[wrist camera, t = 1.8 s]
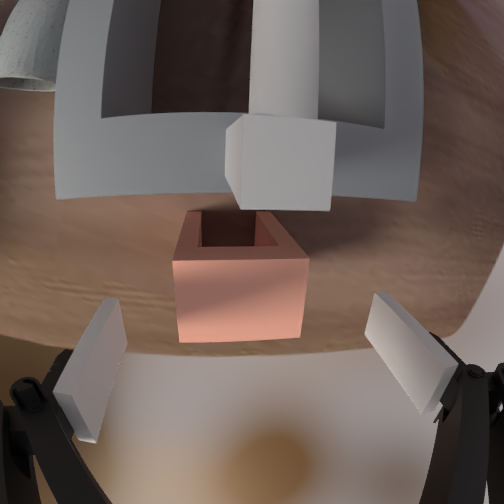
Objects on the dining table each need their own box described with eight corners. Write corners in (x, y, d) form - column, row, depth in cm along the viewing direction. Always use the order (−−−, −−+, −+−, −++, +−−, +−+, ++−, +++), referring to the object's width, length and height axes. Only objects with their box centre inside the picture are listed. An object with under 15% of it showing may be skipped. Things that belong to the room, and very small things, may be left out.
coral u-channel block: (188, 266, 27) (179, 342, 16) (186, 211, 25) (172, 260, 15) (266, 265, 28) (299, 337, 17) (269, 211, 26) (310, 258, 16)
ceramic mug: (105, 10, 17) (72, -26, 10) (79, 92, 20) (33, 78, 13) (18, 20, 15) (-24, 0, 8) (-4, 94, 18) (-54, 90, 11)
